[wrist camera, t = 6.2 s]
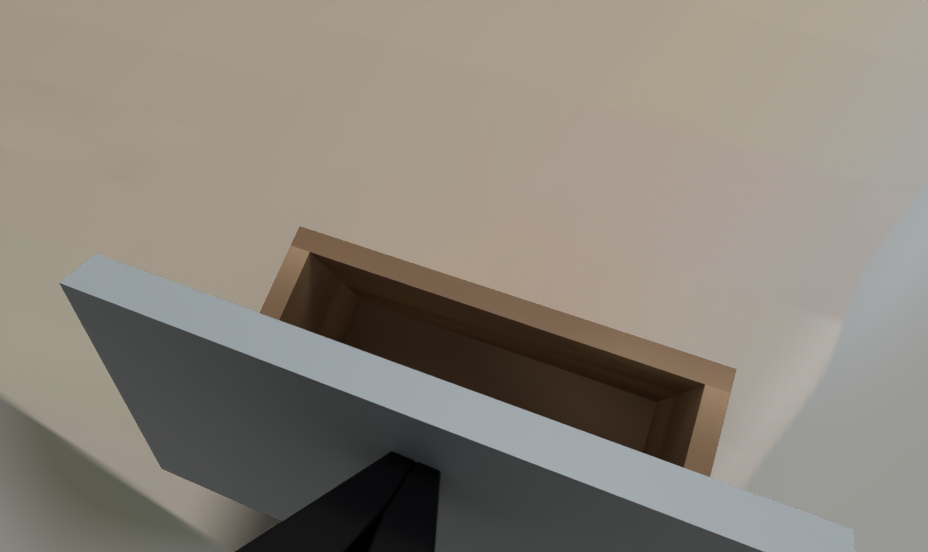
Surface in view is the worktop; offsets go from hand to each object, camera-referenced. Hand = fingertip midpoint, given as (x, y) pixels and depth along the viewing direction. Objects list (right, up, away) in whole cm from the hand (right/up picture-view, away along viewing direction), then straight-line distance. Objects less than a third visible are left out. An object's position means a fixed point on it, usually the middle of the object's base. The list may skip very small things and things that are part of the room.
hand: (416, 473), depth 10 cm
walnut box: (+1, -2, +10) cm, 11 cm away
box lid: (0, 0, +1) cm, 1 cm away
